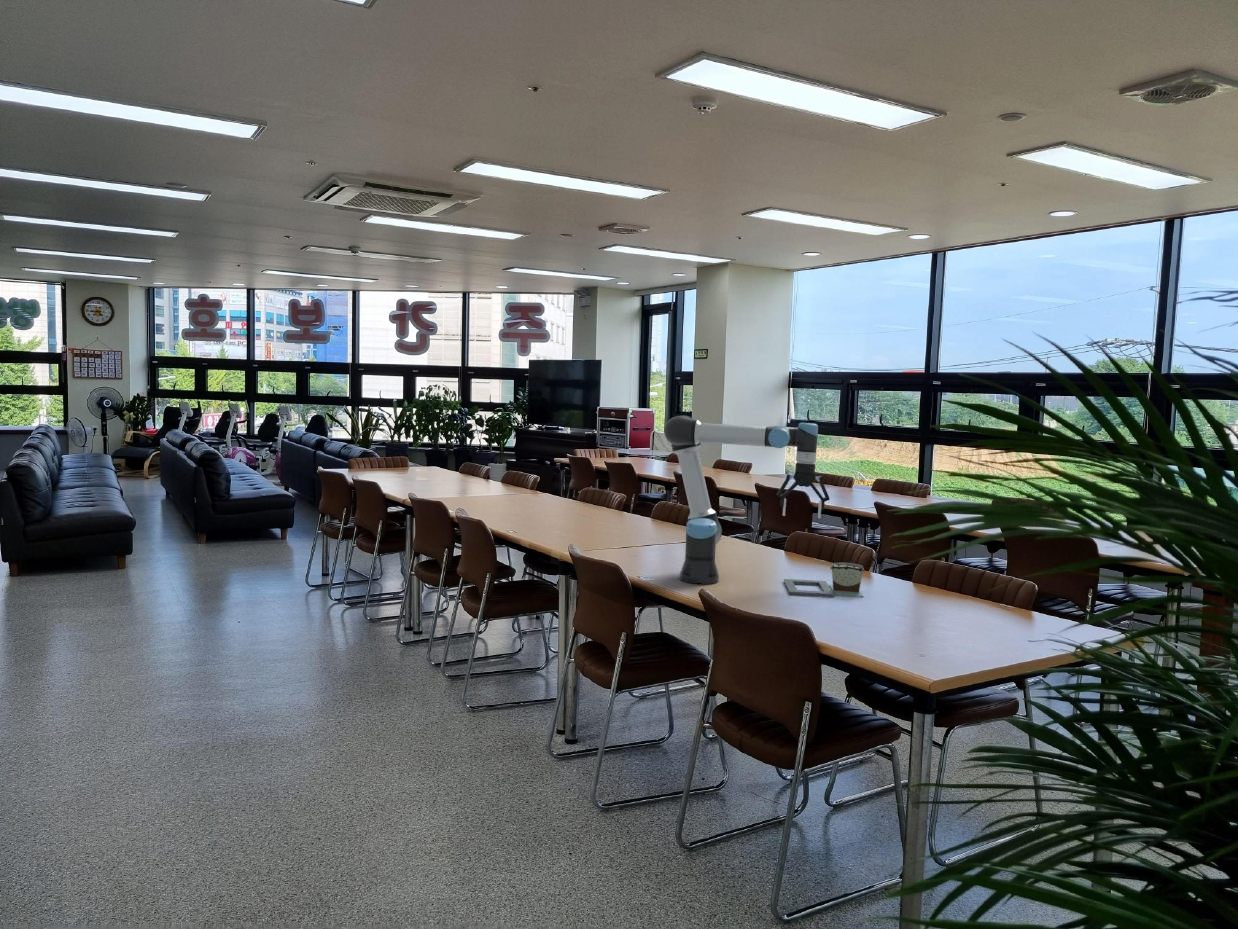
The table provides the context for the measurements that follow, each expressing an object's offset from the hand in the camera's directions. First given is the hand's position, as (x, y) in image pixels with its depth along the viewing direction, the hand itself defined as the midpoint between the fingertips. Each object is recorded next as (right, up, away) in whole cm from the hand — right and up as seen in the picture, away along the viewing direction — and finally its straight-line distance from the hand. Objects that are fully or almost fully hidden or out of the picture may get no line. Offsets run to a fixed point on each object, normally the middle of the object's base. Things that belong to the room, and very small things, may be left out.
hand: (801, 516), depth 332 cm
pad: (+14, -27, -13) cm, 33 cm away
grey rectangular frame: (0, -27, -12) cm, 29 cm away
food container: (+14, -27, -13) cm, 33 cm away
